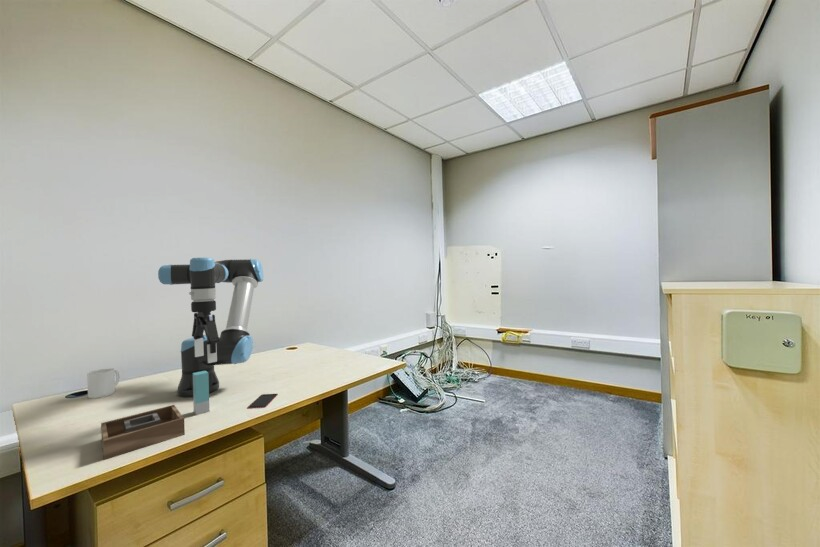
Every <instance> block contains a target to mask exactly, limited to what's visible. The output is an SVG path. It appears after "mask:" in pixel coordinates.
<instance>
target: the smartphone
mask: <svg viewBox="0 0 820 547" xmlns="http://www.w3.org/2000/svg"><path fill="white" fill-rule="evenodd" d="M277 396H278V393H264V394H262V393H261V395H259V396H258V397H257V398H256V399H255V400H254V401H252V402H251V403H250V404H249V405H248V406H247V407H246V409H248V410H249V409H251V410H252V409H265V408H267V407H268V406H269V405H270V403H272V402H273V401H274V399H275V398H276V397H277Z"/></svg>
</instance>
